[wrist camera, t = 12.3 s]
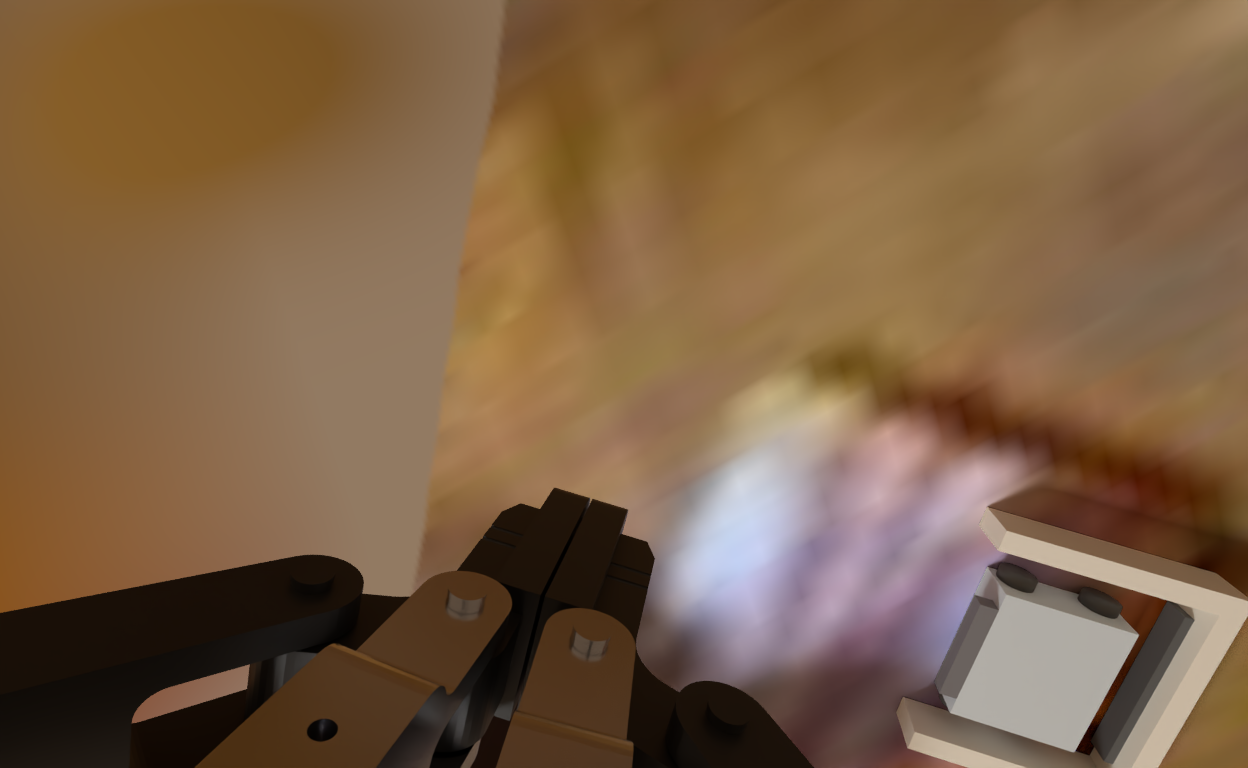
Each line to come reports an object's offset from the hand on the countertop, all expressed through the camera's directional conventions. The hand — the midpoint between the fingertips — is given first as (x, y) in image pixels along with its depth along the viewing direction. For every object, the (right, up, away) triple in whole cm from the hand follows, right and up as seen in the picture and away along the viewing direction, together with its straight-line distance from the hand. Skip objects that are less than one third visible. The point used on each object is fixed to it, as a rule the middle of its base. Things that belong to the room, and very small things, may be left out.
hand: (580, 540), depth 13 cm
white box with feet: (+24, -12, +27) cm, 39 cm away
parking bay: (+26, -13, +27) cm, 40 cm away
